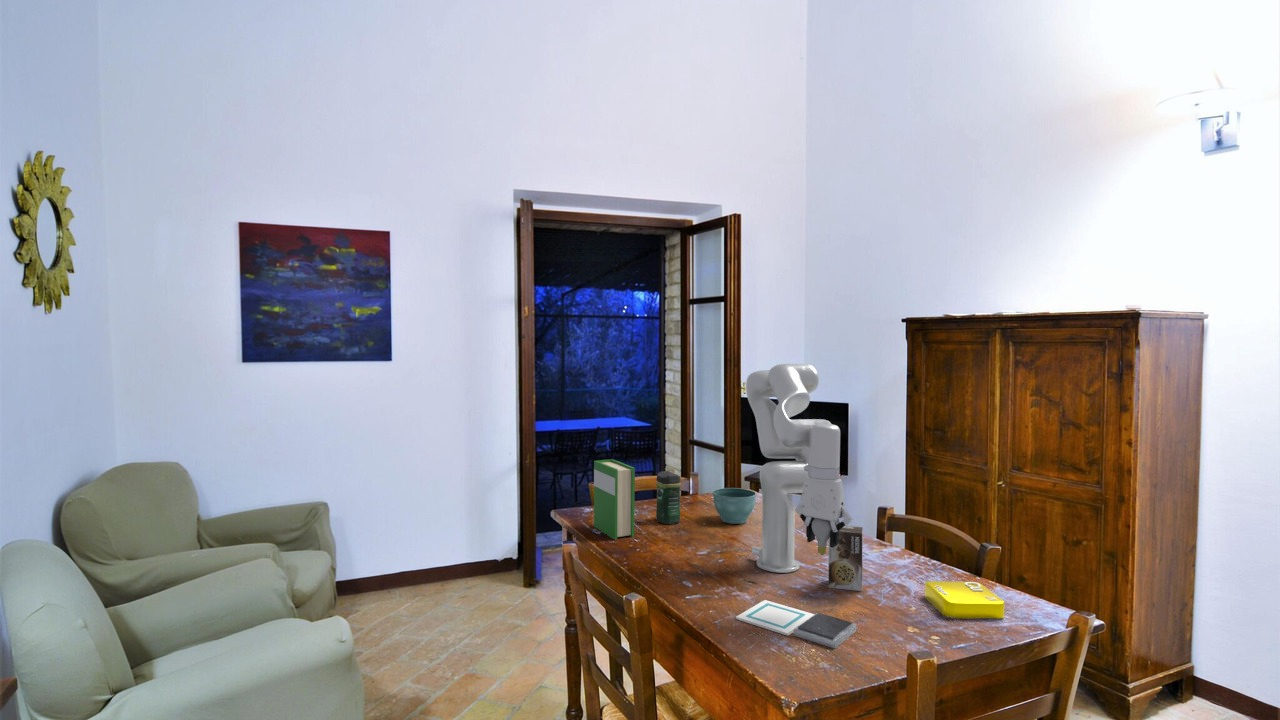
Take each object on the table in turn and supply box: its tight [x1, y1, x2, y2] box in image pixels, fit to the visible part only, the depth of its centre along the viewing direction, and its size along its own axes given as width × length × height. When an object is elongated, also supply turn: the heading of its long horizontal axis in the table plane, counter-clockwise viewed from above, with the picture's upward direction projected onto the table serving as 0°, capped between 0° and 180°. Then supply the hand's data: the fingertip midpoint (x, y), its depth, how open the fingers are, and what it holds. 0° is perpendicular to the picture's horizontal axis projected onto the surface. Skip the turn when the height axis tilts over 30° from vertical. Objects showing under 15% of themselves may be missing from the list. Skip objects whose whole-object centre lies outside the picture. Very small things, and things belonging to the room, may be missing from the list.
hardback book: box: [593, 459, 636, 541], centre depth 238 cm, size 18×7×24 cm, turn 28°
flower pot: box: [712, 487, 757, 525], centre depth 253 cm, size 16×16×11 cm
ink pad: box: [793, 612, 858, 649], centre depth 157 cm, size 10×12×2 cm
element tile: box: [924, 580, 1006, 620], centre depth 173 cm, size 15×15×5 cm
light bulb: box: [812, 518, 832, 556], centre depth 171 cm, size 5×6×10 cm
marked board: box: [735, 599, 816, 636], centre depth 165 cm, size 14×14×1 cm
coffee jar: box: [655, 470, 682, 525], centre depth 251 cm, size 10×8×19 cm
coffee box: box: [827, 525, 864, 592], centre depth 187 cm, size 9×6×16 cm
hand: (822, 542), depth 171 cm, fingers closed on light bulb, 5 cm apart
